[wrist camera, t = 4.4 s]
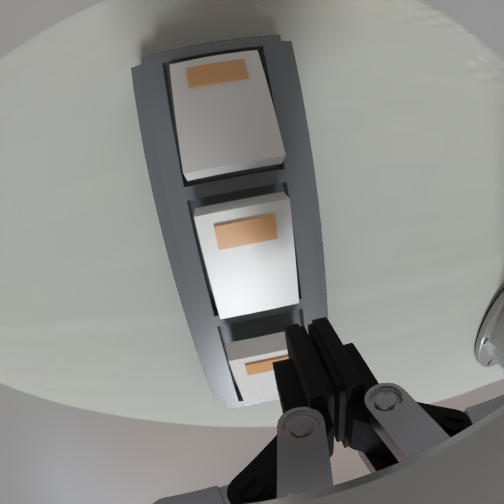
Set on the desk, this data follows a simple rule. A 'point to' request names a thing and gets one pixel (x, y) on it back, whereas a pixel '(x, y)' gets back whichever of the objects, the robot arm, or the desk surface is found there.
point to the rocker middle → (249, 253)
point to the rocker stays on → (224, 115)
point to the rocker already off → (257, 364)
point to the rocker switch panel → (229, 189)
